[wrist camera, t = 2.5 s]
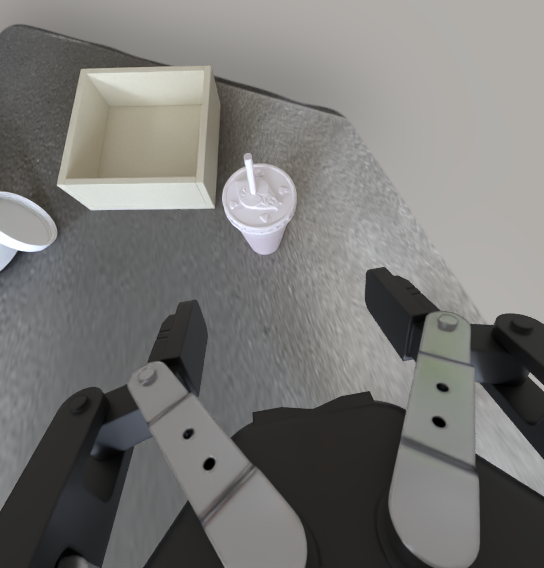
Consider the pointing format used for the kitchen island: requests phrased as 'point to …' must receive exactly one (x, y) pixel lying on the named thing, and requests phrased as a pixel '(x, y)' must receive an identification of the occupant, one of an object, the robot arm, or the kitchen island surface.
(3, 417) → the kitchen island surface
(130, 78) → the wooden tray
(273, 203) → the smoothie
